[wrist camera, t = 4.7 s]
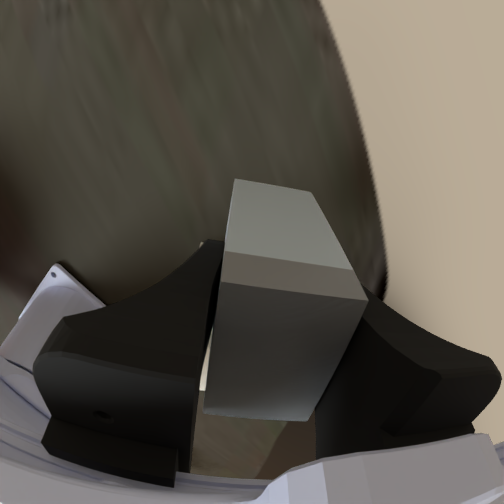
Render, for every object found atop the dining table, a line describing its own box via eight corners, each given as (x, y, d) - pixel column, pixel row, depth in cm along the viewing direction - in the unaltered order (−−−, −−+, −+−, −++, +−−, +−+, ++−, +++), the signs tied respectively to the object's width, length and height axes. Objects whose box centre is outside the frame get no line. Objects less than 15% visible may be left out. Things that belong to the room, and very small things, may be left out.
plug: (285, 287, 15) (306, 421, 8) (219, 277, 14) (202, 413, 8) (310, 192, 12) (368, 300, 6) (234, 178, 12) (220, 281, 6)
